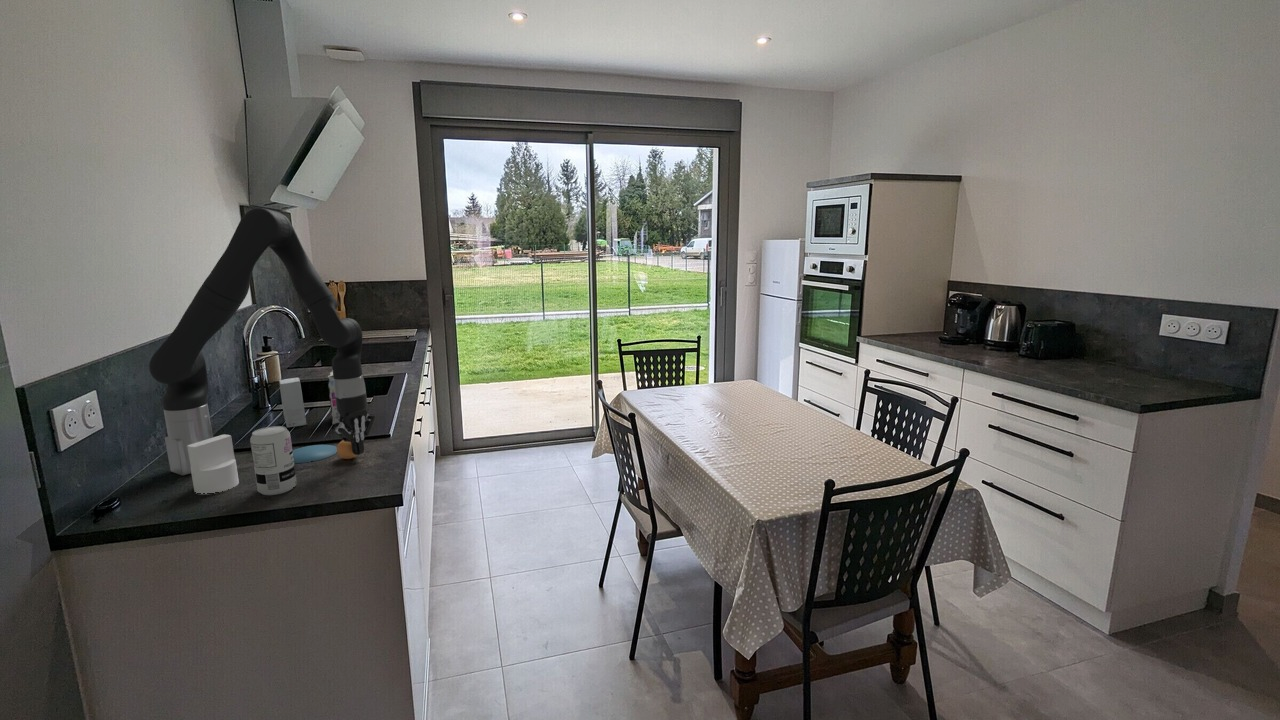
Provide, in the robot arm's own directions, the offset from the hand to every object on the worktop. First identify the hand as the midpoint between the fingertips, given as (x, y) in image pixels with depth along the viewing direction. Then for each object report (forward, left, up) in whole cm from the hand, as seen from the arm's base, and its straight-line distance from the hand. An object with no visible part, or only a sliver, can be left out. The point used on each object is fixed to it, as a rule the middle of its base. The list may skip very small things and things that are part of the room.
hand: (358, 453), depth 161 cm
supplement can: (-22, +1, -2) cm, 22 cm away
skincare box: (+12, +48, -2) cm, 50 cm away
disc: (-3, +17, -2) cm, 17 cm away
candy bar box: (+22, +38, -2) cm, 44 cm away
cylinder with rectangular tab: (-28, +16, -2) cm, 32 cm away
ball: (0, +4, +1) cm, 4 cm away
